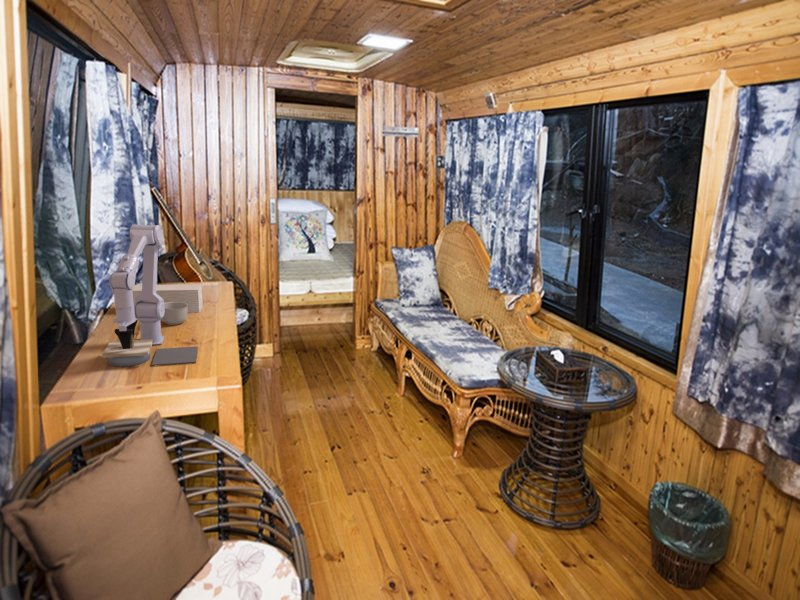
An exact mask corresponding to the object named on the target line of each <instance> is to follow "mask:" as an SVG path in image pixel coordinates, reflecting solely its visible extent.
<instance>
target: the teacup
mask: <svg viewBox="0 0 800 600" xmlns="http://www.w3.org/2000/svg"><path fill="white" fill-rule="evenodd" d="M164 307H165V313H164V316H163V317H162V319H160V321H161V322H164V323H165V324H166V325H169V326H177V325H181V324H184V322H186V321H187V319H188V314H189V313H188V309H187V307H188V305H187V304H186V303H183V302H167V303H164Z"/></svg>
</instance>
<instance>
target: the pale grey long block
mask: <svg viewBox="0 0 800 600" xmlns="http://www.w3.org/2000/svg"><path fill="white" fill-rule="evenodd" d="M132 291H133V302H134V303H135V298H136V297H138V296H139V295H140V294H142V284H135V285H134V287H133V289H132ZM156 294H158V295H159V296H160V297H161V298H162V299H163V300H164V303H167V302H183V303H186V304H187V305H188V307H187V309H188V314H189V313H190V314H192V313H193V314H195V313H200V312H201V311H202V309H203V308H204V304H203V301H204V300H203V285H202V283H200V284H199V283H197V284H194V283H192V284H189V283H187V284H157V286H156ZM144 302H155V301H144Z"/></svg>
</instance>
